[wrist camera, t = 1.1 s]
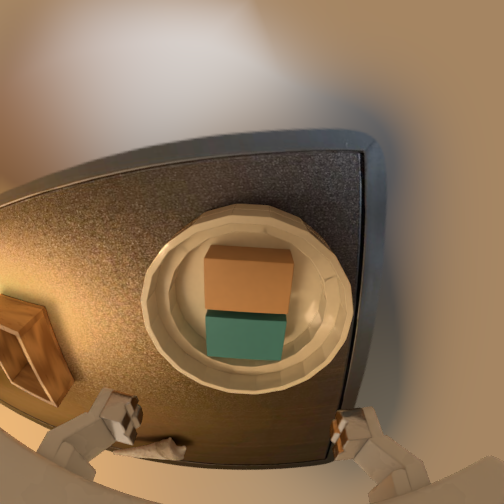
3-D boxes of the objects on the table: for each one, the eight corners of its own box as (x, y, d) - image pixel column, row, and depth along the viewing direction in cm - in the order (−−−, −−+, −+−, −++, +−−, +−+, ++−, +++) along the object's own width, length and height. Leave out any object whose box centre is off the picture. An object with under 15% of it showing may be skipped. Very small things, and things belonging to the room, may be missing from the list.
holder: (0, 293, 24) (-24, 312, 19) (45, 306, 24) (18, 332, 19) (28, 362, 29) (11, 383, 23) (74, 381, 29) (57, 408, 23)
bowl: (156, 199, 20) (131, 211, 16) (350, 210, 20) (372, 225, 16) (169, 351, 25) (157, 383, 21) (319, 361, 25) (327, 394, 21)
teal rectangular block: (211, 297, 22) (205, 316, 19) (284, 302, 22) (287, 321, 19) (211, 335, 23) (206, 356, 21) (279, 340, 23) (280, 361, 21)
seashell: (185, 432, 33) (179, 442, 29) (193, 452, 32) (188, 463, 28) (111, 434, 32) (100, 442, 28) (119, 453, 31) (109, 462, 28)
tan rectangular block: (210, 244, 20) (203, 257, 18) (290, 249, 20) (294, 263, 18) (210, 291, 22) (204, 309, 19) (285, 295, 22) (288, 314, 19)
